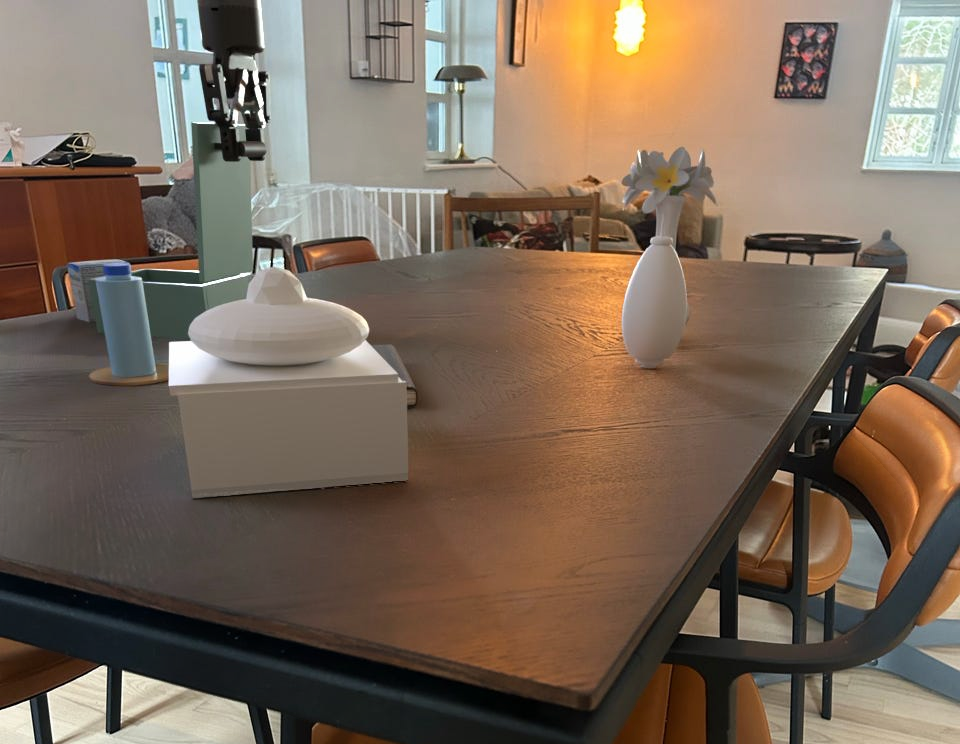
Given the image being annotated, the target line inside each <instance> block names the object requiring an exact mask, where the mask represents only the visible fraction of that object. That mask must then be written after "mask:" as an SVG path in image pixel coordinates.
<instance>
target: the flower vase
mask: <svg viewBox="0 0 960 744" xmlns="http://www.w3.org/2000/svg"><path fill="white" fill-rule="evenodd" d="M706 162H707V161H706V151H705V149H704V148H702V150H701V153H700V156H699V160H698V164H697V165H692V159H691V156H690V153H689V151H687V150H686V148H685V147H684V146H680V147H678V148H676V149H675V150H674V151H673V152H672V154H671V156H670V157H669V159H668V161H667V160H666V158H665V157H664V152H663V151H662V152H659V151H657V150H651V152H648V150H647V149H642V150H641V151H639V149H638V150H637V154H636V164H635V162H632V164H631V166H630V173H628V174H626V175H625V176H624V177H623V178H622V179H621V184H622V186H624V187H627V189H626V191H625V193H624V195H623V198H622V204H624V203H625V204H624V206H623V209H622V211H624V210H625V209H626V208H627V206H628V205H629V204H630V203H631V202H633V201H634V200H636V199H637V198H638V197H639V196H641V194H642V193H643V192H645V191H647V192H649V194H648V196H647V197H646V198H645V200H644V202H643V203H642V204H643V205H642V207H641V210H642V212H643V214H650V213H652V212H654V211H655V218H656V224H655V236H654V237H657V236H660V231H661V223H662V217H663V214H664V213H665V230H664V236H665V237H670V238H672V244H670V245H671V246H672V247H673V248H674V250H675V251H676V247H677V236H678V228H679V222H680V218H681V213H682V210H683V206H684V204H685V202H686V201H687V196H686V195H688V196H690V197H691V198H693V199H694V200H696V201H699V202H702V201H704V200H705V199H706V197H707V198H708V199H709V200H710V201H711V202H712V203H713V204H714V205H715V206H716V207H718V206H719V205H718V202H717V199H716V197H715V195H714V193H713V192H712V190H711V189H710V188H713V187H714V186H715V181H714V177H713V175H712V171H713V170H712V169H711V167H709V166H706V165H707V163H706ZM650 192H651V193H650ZM690 318H691V307H690V304H689V303H688V301H687V313H686V321H685V326H686V325H687V323H688V322H689V320H690Z"/></svg>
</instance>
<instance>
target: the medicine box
mask: <svg viewBox="0 0 960 744" xmlns="http://www.w3.org/2000/svg"><path fill="white" fill-rule="evenodd" d="M109 263H127V264H130V265H131V263H130V262H128V261H124V260H121V259H117V258H116V259H115V258H114V259H100V260H99V259H98V260H87V261H86V260H85V261H74V262H68V263H66V267H67V272H68V278H69V283H70V288H71V293H72V299H73V304H74V309H75V314H76V319H77V320H80V321H84V322H87V323H93V322H95V323H96V321H95V315H94V309H93V304H92V298H91V293H90V287H89V282H88V280H89V279H93V278H99V277H104V276H105V274H104V272H103V265H104V264H109Z"/></svg>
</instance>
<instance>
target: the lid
mask: <svg viewBox="0 0 960 744" xmlns="http://www.w3.org/2000/svg"><path fill="white" fill-rule="evenodd" d="M190 127H191V128H190V129H191V140H192V141H191V144H192V147H191V148H192V163H193V164H192V165H193V184H194V185H193V186H194V205H195V223H196V224H195V225H196V240H197V241H196V242H197V260H198V261H197V264H198V271H199V282H203V283H205V282H209V281H213V280H218V279H222V278H226V277H230V276H234V275H238V274H248V273H250V272H254V258H253V257H254V255H253V215H252V214H253V213H252V211H253V209H252V173H251V171H252V169H251V161H250V160H249V159H248V157H262V156H264V155H265V156H266V155H267V150H268V149H267V145H266V144H265V142H264V143H263V142H261V141H246V134H245V129H248V128H246V127H245V124H244V123H243V124H241V123H237V127H234V128H237V129H238V133H239V144H240V154H241V160H240V161H239V162H226V161H224V160H223V156H222V147H221V137H220V129H219V127H217V126H216V124H215V122H202V121H201V122H198V121H197V122H196V121H191V122H190Z"/></svg>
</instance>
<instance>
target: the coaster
mask: <svg viewBox="0 0 960 744" xmlns="http://www.w3.org/2000/svg"><path fill="white" fill-rule="evenodd" d="M155 367H156V372H155V373H154V374H151V375H147V376H141V377H118V376H114V375H113V374H112V371H111V366H106V367H101V368H99V369H96V370H94V371H93V370H92V372H90V373H89V375H88V377H89V380H90V382H93V383H95V384H98V385H102V386H103V385H104V386H115V387H128V386H129V387H131V386H133V387H134V386H144V385H152V384H158V382H159V383H163V382H167V381H169V365H167V364H159V363H158V364H157V363H155Z"/></svg>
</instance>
